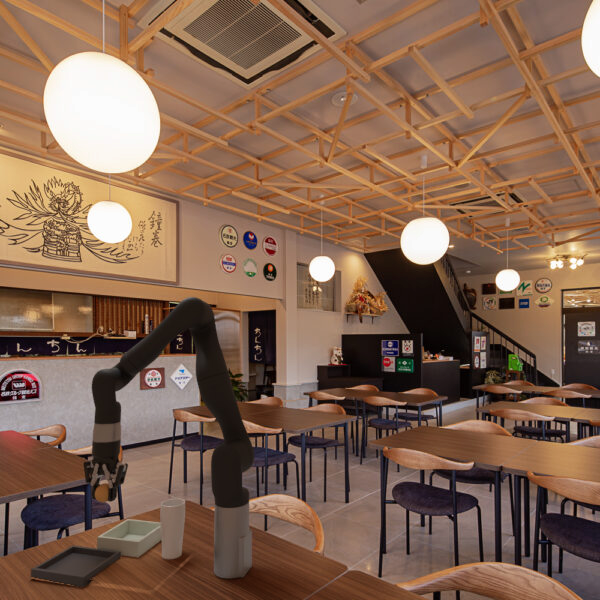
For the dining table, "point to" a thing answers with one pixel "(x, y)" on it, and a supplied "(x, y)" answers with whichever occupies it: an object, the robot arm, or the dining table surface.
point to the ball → (102, 492)
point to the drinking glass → (172, 527)
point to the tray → (75, 565)
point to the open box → (131, 537)
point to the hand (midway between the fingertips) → (103, 499)
